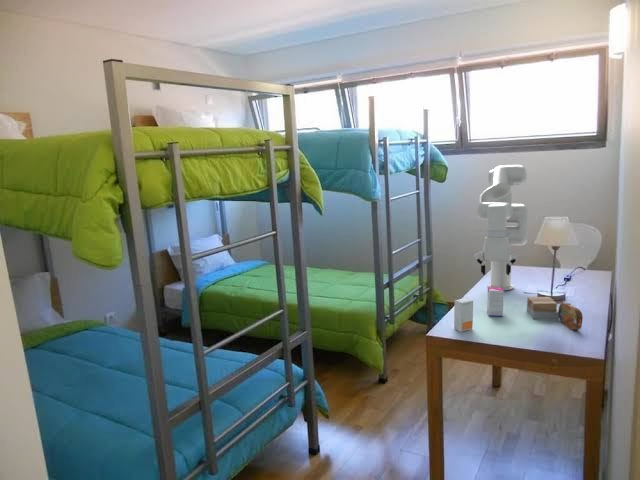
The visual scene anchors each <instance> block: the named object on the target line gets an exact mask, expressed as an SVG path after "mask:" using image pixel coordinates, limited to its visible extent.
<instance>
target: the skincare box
mask: <svg viewBox="0 0 640 480" xmlns="http://www.w3.org/2000/svg"><path fill="white" fill-rule="evenodd" d="M453 310H454V311H453V312H454V313H453V315H454V316H453V317H454V319H453V320H454V321H453V328H454V329H455V330H456V331H459V332H460V333H461V332H465V331H470V330H473V326H474V323H473V321H474V320H473V318H474V300H473V299H469V298H468V297H465V298H460V299H454V309H453Z"/></svg>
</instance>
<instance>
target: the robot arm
mask: <svg viewBox="0 0 640 480" xmlns="http://www.w3.org/2000/svg"><path fill="white" fill-rule="evenodd" d="M527 176H528V175H527V169H526V167H525V166H523V165H521V164H511V165H510V164H507V165H506V164H505V165H498V166H496V167H494V169H491V170H489V172H488V173H487V180H488V185H489V187H488V188H486V189H485V190H483V192H482V193H481V194H480V195H479V196H478V200H477V207H476V215H477V217H478V218H479V219H480V220H486V222H487V224H486V236H485V237H484V238H483V239H484V241H483V245H482V246H483V247H482V250H481V251H479V252H477V253H475V254H474V258H475V260H476V261H477V263H478V264H479V265H480V273H481V274H482V275H483V276H485V275H486V263H487V262H490V282H489V283H487V288H488V287H499V288H502V289H503V291H511V290H514V289H515V285H514V284H513V283H512V282H511V281H512V280H511V279H512V277H511V276H512V265H513V264H514V263H515V262H516V261H517V259H518V257H519V255H518V254H517V253H515V252H513V251H511V250H510V246H524V245H526V244H527V242H528V235H529V230H528V229H529V210H528V207H527V205H525V204H523V203H513V193H512V192H511V187H523V186H525V184H526V182H527V179H528V177H527ZM507 224H516V225H507ZM481 256H482V258H483V259H482V260H481V259H480V257H481ZM512 256H513V257H512Z"/></svg>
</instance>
